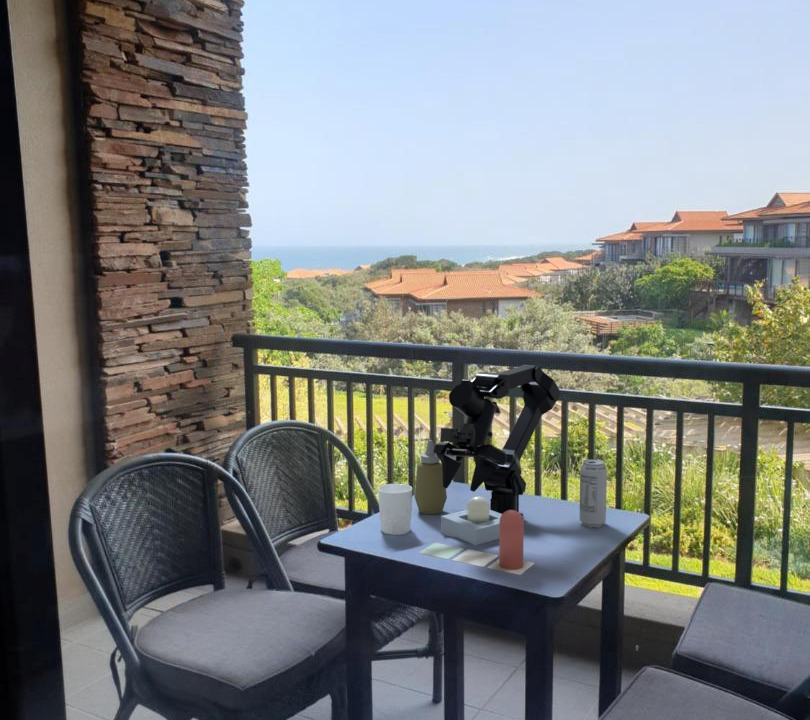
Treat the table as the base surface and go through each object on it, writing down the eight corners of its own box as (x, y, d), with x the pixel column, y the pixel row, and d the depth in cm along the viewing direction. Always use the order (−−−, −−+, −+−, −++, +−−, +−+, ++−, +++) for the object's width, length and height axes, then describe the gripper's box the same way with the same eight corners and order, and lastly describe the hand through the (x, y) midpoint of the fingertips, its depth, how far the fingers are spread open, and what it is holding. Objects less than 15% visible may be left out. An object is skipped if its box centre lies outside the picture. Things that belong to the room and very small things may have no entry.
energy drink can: (611, 525, 186) (612, 463, 184) (590, 529, 183) (591, 466, 181) (594, 518, 191) (595, 457, 189) (574, 522, 188) (575, 460, 187)
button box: (480, 522, 189) (480, 506, 188) (516, 536, 179) (516, 518, 179) (441, 533, 182) (441, 516, 181) (475, 547, 172) (475, 529, 172)
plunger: (479, 515, 184) (479, 492, 183) (494, 521, 180) (494, 497, 179) (462, 519, 181) (462, 496, 180) (477, 525, 177) (477, 501, 176)
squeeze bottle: (407, 510, 198) (407, 440, 196) (432, 504, 203) (432, 435, 201) (428, 518, 192) (427, 445, 190) (453, 512, 197) (453, 440, 195)
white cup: (409, 537, 179) (408, 493, 178) (375, 535, 181) (374, 492, 180) (415, 525, 187) (415, 484, 186) (383, 523, 189) (382, 482, 188)
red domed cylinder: (511, 559, 164) (511, 505, 163) (528, 566, 160) (528, 511, 159) (494, 564, 161) (494, 509, 160) (510, 571, 157) (511, 515, 156)
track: (539, 565, 162) (539, 562, 162) (523, 579, 155) (523, 576, 155) (433, 543, 175) (433, 541, 175) (413, 555, 168) (413, 553, 168)
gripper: (427, 410, 184) (406, 474, 180) (482, 410, 170) (460, 479, 165) (460, 428, 190) (441, 490, 186) (516, 430, 176) (496, 497, 171)
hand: (458, 489), depth 177 cm, fingers open, 9 cm apart
